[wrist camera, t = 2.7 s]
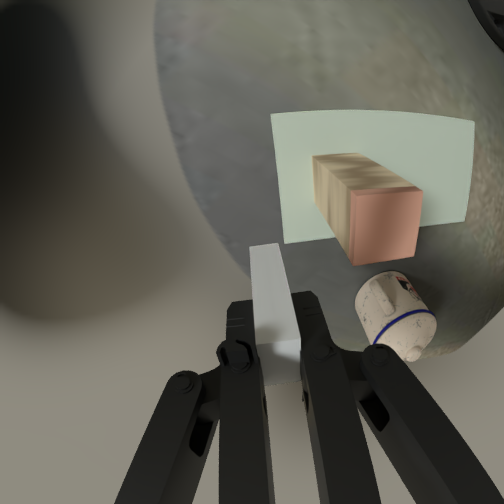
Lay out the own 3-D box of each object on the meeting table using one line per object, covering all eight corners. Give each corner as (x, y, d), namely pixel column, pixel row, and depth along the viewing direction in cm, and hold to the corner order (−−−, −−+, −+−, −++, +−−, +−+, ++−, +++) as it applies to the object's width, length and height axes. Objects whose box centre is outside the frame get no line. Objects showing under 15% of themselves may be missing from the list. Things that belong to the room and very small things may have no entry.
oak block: (358, 152, 25) (423, 191, 15) (358, 197, 28) (413, 256, 18) (311, 155, 26) (356, 196, 15) (314, 202, 28) (353, 266, 18)
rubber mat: (472, 120, 23) (474, 121, 22) (462, 220, 30) (464, 221, 29) (270, 113, 24) (270, 114, 23) (284, 241, 31) (284, 243, 31)
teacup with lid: (415, 294, 36) (451, 350, 26) (367, 327, 39) (392, 388, 29) (389, 240, 31) (436, 301, 21) (330, 282, 34) (358, 352, 24)
